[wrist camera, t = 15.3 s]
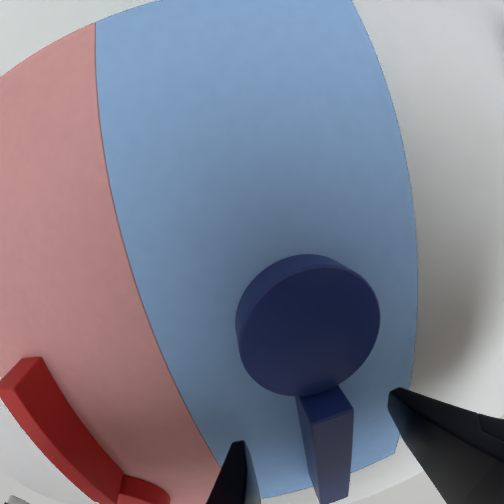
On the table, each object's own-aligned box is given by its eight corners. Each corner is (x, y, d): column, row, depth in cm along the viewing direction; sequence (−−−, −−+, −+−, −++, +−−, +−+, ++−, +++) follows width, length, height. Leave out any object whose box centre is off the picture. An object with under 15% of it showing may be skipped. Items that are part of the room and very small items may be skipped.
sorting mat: (391, 448, 10) (394, 453, 10) (108, 498, 9) (107, 502, 8) (342, -3, 6) (347, -9, 5) (-51, 130, 4) (-56, 129, 4)
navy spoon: (219, 273, 7) (221, 303, 5) (354, 239, 7) (398, 254, 5) (282, 481, 9) (292, 514, 7) (358, 456, 9) (374, 485, 7)
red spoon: (181, 506, 9) (181, 535, 7) (122, 503, 9) (118, 529, 7) (66, 353, 7) (37, 390, 5) (4, 358, 6) (-23, 385, 4)
